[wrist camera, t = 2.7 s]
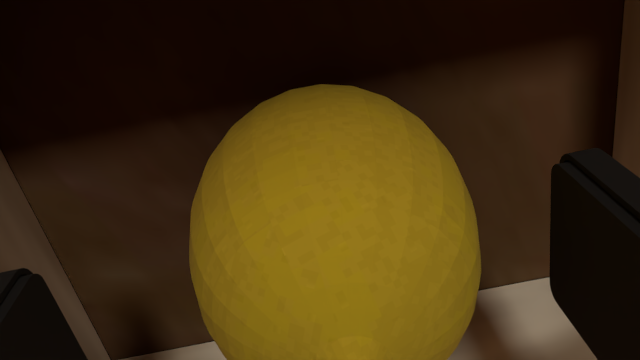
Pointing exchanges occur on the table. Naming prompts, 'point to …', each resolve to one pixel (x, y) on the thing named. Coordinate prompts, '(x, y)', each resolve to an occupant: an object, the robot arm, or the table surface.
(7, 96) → the table surface
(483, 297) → the brown wooden tray
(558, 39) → the table surface
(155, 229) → the table surface
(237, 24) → the table surface
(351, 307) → the lemon
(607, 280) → the robot arm
